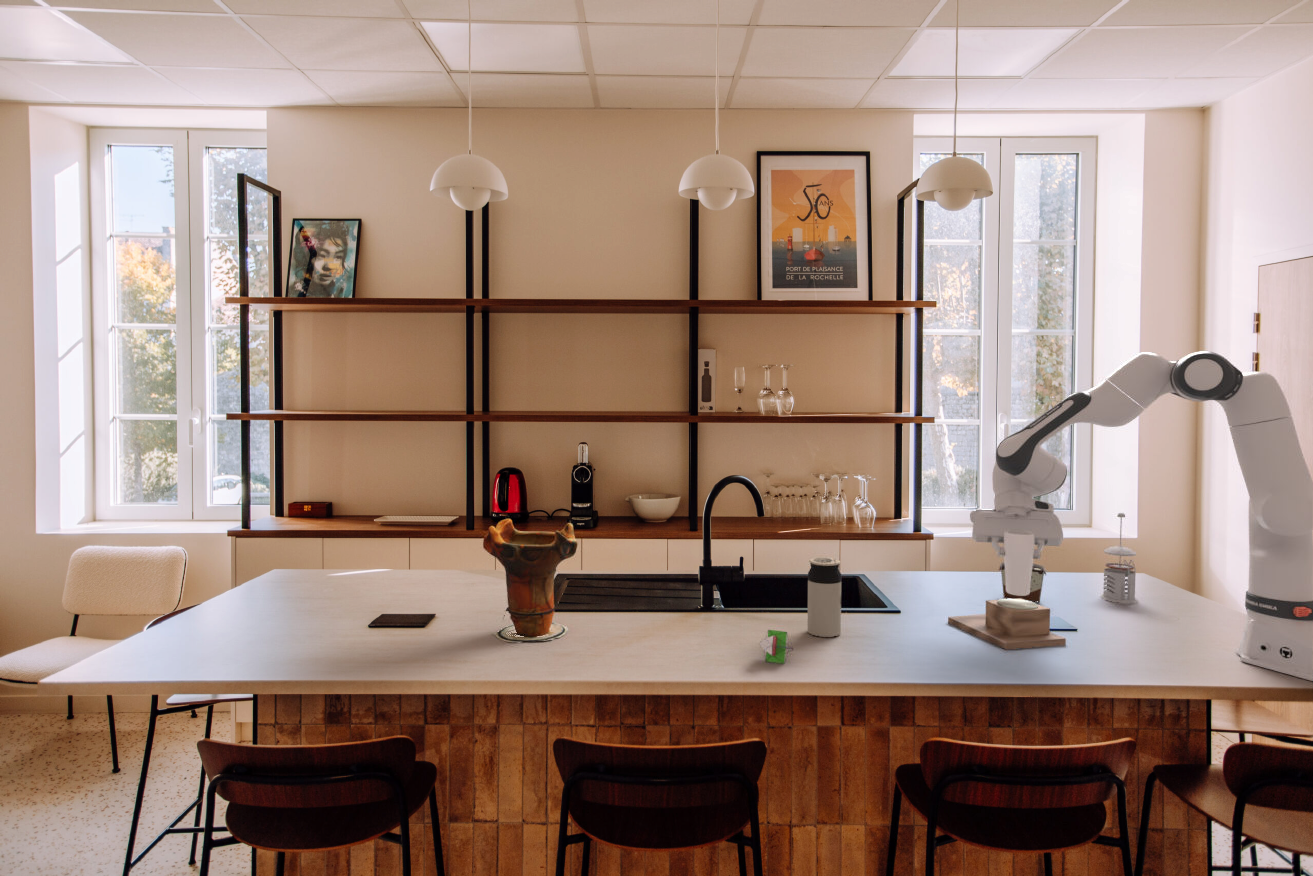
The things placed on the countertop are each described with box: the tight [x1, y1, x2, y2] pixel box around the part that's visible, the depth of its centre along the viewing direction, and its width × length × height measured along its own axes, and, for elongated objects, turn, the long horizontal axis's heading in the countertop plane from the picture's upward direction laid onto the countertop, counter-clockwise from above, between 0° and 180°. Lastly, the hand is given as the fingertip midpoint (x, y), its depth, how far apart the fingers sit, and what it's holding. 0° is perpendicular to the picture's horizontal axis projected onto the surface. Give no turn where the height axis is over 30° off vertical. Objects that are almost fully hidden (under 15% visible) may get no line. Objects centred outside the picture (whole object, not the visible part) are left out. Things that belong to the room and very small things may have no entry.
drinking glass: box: [1002, 530, 1036, 596], centre depth 182 cm, size 7×7×15 cm
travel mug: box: [807, 557, 842, 638], centre depth 184 cm, size 8×8×18 cm
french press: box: [1099, 512, 1140, 604], centre depth 215 cm, size 10×12×25 cm
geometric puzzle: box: [758, 628, 794, 665], centre depth 164 cm, size 7×7×8 cm
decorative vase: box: [482, 518, 579, 644], centre depth 185 cm, size 21×23×28 cm
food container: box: [998, 562, 1047, 602], centre depth 218 cm, size 12×6×10 cm, turn 58°
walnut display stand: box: [947, 598, 1067, 651], centre depth 184 cm, size 22×16×8 cm
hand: (1018, 556), depth 181 cm, fingers closed on drinking glass, 7 cm apart
